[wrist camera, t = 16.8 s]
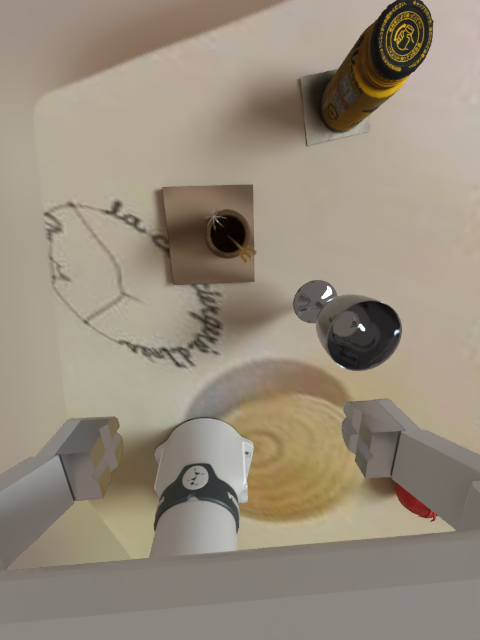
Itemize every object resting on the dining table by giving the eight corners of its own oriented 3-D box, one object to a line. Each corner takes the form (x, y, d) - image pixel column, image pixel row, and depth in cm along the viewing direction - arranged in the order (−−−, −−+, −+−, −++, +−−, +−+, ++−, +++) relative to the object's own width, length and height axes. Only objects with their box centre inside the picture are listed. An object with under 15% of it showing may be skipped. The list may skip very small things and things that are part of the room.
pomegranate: (381, 489, 55) (410, 538, 46) (396, 453, 52) (431, 498, 43) (422, 492, 56) (459, 540, 47) (440, 457, 53) (483, 501, 44)
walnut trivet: (253, 280, 39) (254, 281, 38) (175, 283, 38) (173, 284, 37) (252, 186, 35) (252, 184, 33) (164, 188, 34) (162, 186, 33)
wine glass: (283, 317, 41) (314, 359, 27) (303, 270, 39) (348, 289, 24) (327, 331, 42) (378, 379, 28) (348, 287, 40) (416, 314, 26)
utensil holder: (226, 202, 34) (226, 184, 23) (258, 236, 36) (273, 235, 24) (196, 235, 35) (183, 233, 24) (229, 266, 37) (231, 279, 25)
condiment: (369, 131, 33) (443, 76, 22) (306, 146, 34) (348, 98, 22) (366, 63, 31) (447, -38, 20) (299, 79, 31) (341, -12, 20)
